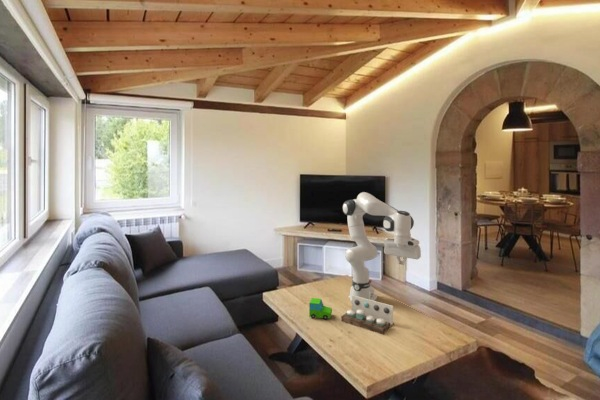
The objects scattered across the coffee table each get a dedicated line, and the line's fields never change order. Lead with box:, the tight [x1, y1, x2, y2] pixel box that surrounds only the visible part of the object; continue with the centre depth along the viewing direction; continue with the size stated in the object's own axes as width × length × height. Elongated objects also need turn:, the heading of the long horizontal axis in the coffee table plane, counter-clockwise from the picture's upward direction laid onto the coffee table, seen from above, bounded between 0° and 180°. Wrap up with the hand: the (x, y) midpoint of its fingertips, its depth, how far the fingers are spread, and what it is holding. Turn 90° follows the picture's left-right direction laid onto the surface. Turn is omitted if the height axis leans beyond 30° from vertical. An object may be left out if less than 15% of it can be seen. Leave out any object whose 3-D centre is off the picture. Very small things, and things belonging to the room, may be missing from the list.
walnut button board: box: [340, 312, 391, 335], centre depth 206 cm, size 10×27×3 cm, turn 53°
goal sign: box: [351, 295, 395, 328], centre depth 213 cm, size 4×27×12 cm, turn 53°
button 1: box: [346, 309, 355, 318], centre depth 212 cm, size 5×5×4 cm
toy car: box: [308, 297, 333, 321], centre depth 216 cm, size 10×13×10 cm
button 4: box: [376, 318, 385, 327], centre depth 200 cm, size 5×5×4 cm
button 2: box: [356, 309, 365, 320], centre depth 208 cm, size 5×5×4 cm
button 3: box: [366, 316, 375, 323], centre depth 204 cm, size 5×5×4 cm
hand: (401, 264), depth 195 cm, fingers closed
